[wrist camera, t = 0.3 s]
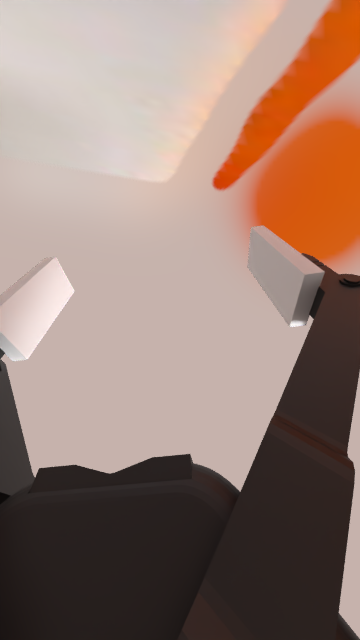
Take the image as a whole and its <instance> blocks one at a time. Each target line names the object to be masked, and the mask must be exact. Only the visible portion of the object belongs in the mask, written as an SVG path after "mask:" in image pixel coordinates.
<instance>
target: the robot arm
mask: <svg viewBox="0 0 360 640" xmlns="http://www.w3.org/2000/svg"><path fill="white" fill-rule="evenodd" d="M249 245H250V246H249V256H248V268H249V270H250V271H251V273H252V274H253V276H254V277H255V278H256V280H257V281H258V283H259V284H260V286H261V287H262V288H263V290H264V291H265V293H266V294H267V295H268V297H269V298H270V300H271V301H272V303H273V304H274V306H275V307H276V308H277V310H278V311H279V313H280V314H281V316H282V317H283V318H284V320H285V321H286V323H287V324H288V326H289V327H294V326H302V325H306V324H307V321H308V318H309V315H310V316H311V317H312V318H313V319H314V320H313V323H312V325H311V328H310V330H309V332H308V335H307V337H306V339H305V342H304V344H303V347H302V349H301V352H300V354H299V356H298V359H297V361H296V364H295V366H294V368H293V370H292V373H291V375H290V378H289V380H288V383H287V385H286V387H285V390H284V392H283V394H282V397H281V399H280V402H279V404H278V406H277V409H276V411H275V413H274V416H273V417H272V419H271V421H270V424H269V426H268V428H267V431H266V433H265V435H264V438H263V440H262V442H261V445H260V447H259V449H258V452H257V454H256V457H255V459H254V461H253V464H252V466H251V469H250V471H249V473H248V476H247V478H246V480H245V483H244V485H243V487H242V490H241V492H239V490H238V489H236V487H235V486H233V485H232V484H231V483H230V482H229V481H228V480H227V479H225V478H224V477H223V476H221V475H220V474H218V473H216V472H215V471H213V470H211V469H209V468H207V467H204V466H201V465H197V464H194V463H193V462H192V458H191V455H190V454H186V455H175V456H164V457H153V458H150V459H147V460H145V461H143V462H140V463H138V464H135V465H133V466H130V467H128V468H125V469H123V470H120V471H118V472H115V473H111V474H108V473H104V472H100V471H96V470H93V469H89V468H85V467H81V466H77V465H69V466H58V467H48V468H39V470H38V473H37V475H36V477H34V476H33V473H32V469H31V465H30V461H29V457H28V453H27V449H26V445H25V441H24V437H23V433H22V429H21V425H20V421H19V417H18V413H17V409H16V405H15V400H14V396H13V392H12V389H11V384H10V380H9V376H8V372H7V368H6V364H5V363H4V362H3V361H2V360H0V640H360V639H359V638H358V636H357V635H356V634H355V633H354V631H353V630H352V629H351V628H350V626H349V625H348V624H347V623H346V622H345V620H344V619H343V618H342V617H341V615H340V614H339V613H338V612H339V604H340V596H341V588H342V579H343V571H344V563H345V555H346V547H347V539H348V531H349V523H350V514H351V506H352V498H353V489H354V477H355V469H354V465H353V462H352V461H351V460H350V459H349V458H348V454H347V448H348V442H349V435H350V429H351V422H352V416H353V410H354V403H355V397H356V390H357V384H358V378H359V371H360V276H357V275H353V274H337V273H336V272H334V271H333V270H332V269H330V268H328V267H327V266H326V265H325V266H324V264H323V263H322V262H319V260H317V259H316V258H314V257H313V256H310V255H307V254H304V253H302V254H300V253H299V252H298V251H296V250H295V249H294V248H292V247H291V246H290V245H288V244H287V243H286V242H284V241H283V240H281V239H280V238H279V237H278V236H276V235H275V234H274V233H272V232H271V231H270V230H268V229H267V228H266V227H264V226H256V227H251V233H250V244H249ZM73 293H74V290H73V288H72V286H71V284H70V282H69V280H68V278H67V277H66V275H65V273H64V271H63V269H62V267H61V265H60V264H59V262H58V260H57V258H56V257H50V258H45V259H43V260H42V261H41V262H40V263H39V264H37V265H36V266H35V267H34V268H33V269H31V270H30V271H29V272H28V273H27V274H25V275H24V276H23V277H22V278H20V279H19V280H18V281H17V282H16V283H15V284H13V285H12V286H11V287H10V288H9V289H7V290H6V291H5V292H4V293H2V294H1V295H0V359H1V357H2V356H3V355H4V354H6V355H7V356H8V357H9V358H10V359H11V360H12V361H19V360H27V359H28V358H29V356H30V355H31V353H32V352H33V351H34V349H35V348H36V346H37V345H38V343H39V342H40V340H41V339H42V337H43V336H44V335H45V333H46V332H47V330H48V329H49V327H50V326H51V324H52V323H53V322H54V320H55V319H56V317H57V316H58V314H59V313H60V312H61V310H62V309H63V307H64V306H65V304H66V303H67V301H68V300H69V299H70V297H71V296H72V294H73Z"/></svg>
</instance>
